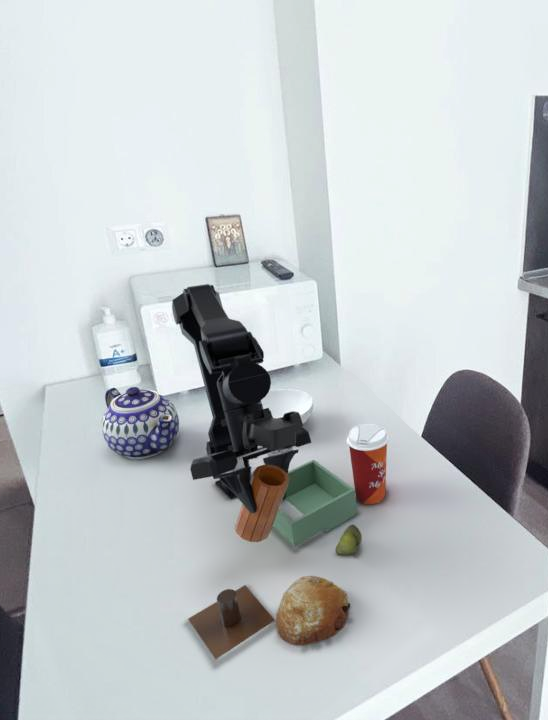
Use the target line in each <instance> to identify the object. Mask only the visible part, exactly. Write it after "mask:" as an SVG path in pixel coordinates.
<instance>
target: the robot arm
mask: <svg viewBox="0 0 548 720" xmlns="http://www.w3.org/2000/svg"><path fill="white" fill-rule="evenodd" d="M171 301H172V303H171V308H172V309H171V311H172V316H173V319H174V323H175V325H179V329H180V333H181V334H182V336H183V337H185V338H186V339H187V340H188V341H189V342H190V344H192V345H193V348H194V351H195V354H196V358H197V363H198V366H199V371H200V374H201V378H202V381H203V385H204V389H205V393H206V396H207V400H208V404H209V408H210V412H211V415H212V420H211V423H210V426H209V429H208V432H207V435H208V439H209V441H207V442H206V447H205V450H206V455H205V456H202V457H198V458H195V459H193V460H192V462H191V465H190V473H191V478H192V480H193V481H196V480H200V479H206V478H212V479H213V480H217V479H218V480H217V481H215V482H214V484H215V486H216V487H217V488H218V489H219V490H220V491H221V492H222V493H223V495H225V496H226V497H227V498H228V499H232V498H235V497H236V498H237V499H238V500H239V502H241V504H243V505H244V506H245V507H246V508H247V509H248V511H249V512H250V513H255V512H256V511H257V510H256V503H255V499H254V495H253V491H252V487H251V484H250V480H251V477H252V475H253V474H252V466H251V465H250V460H253V459H257V458H258V457H260V456H261V457H262V456H263V455H266V454H267V456H266V457H263V458H262V461H263V463H264V465H265V464H267V465H275V466H278V467H280V468H282V469H283V470H284V471H285V472H286V473H287V474H288V472H289V470H290V469H289V468H290V463H291V462H292V460H293V459H294V456H295V455H296V454H298V453H299V448H300V447H303V446H306V445H308V444H311V443H312V440H311V436H310V433H309V431H308V430H307V429H306V428H305V427H304V426H303V425H304V424H303V423H302V420H301V417H300V414H299V412H295V411H292V412H288V413H285V414H284V416H283V418H282V417H281V418H273V417H272V414H271V411H270V410H269V408H266V409H263V405H262V403H261V400H262V399H263V398H264V397H265V396H266V395H267V394H268V392H269V391H271V386H272V379H271V375H270V373H269V372H268V371H267V369H266V368H264V367H263V365H261V364H263V363H264V358H265V354H264V349H262V347H261V345H260V343H259V341H258V340H257V338H256V337H254V336H253V333H252V332H251V331H248V330H247V327H246V326H245V325H244V324H243V323H242V322H241V321H239V320H237V319H232V318H230V317H229V315H228V314H227V313H226V311H225V308H224V307H223V303H222V300H221V296H220V292H218V291H216V288H215V287H214V284H209V283H206V284H199V285H192V286H187V287H186V288H183V290H182V293H181V294H179V295H178V296H175V298H173V299H172V300H171ZM258 403H259V404H258ZM293 447H296V448H298V449H293ZM284 500H286V492H285V495H284V497H283V500H282V501H284Z"/></svg>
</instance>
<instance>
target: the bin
mask: <svg viewBox="0 0 548 720" xmlns="http://www.w3.org/2000/svg"><path fill="white" fill-rule="evenodd" d="M288 475H289V480H290V481H289V484H288V487H287V489H286V499H285V500H286V501H288V503H290V504H291V505H292V506H293V507H294V508H296V509H297V510H298V511H299V512H300V514H302V515H301V516H298V517H297V518H296V519H294V520H293V519H291V518H290V517H289V516H288V515H286V514H285V513H284V511H282V510H281V509H280V508H279V511H278V513H277V516H276V519H275V521H274V524H273V527H272V528H274V529H275V530H276V531H277V532H278V533H279V534H280V535H281V536H282V537H284V539H286V540H287V541H288V542H289V544H291V545H292V546H293V547H296V546H298V545H299V544H301V543H302V542H304V541H306V540H309V539H310V538H311V537H313V536H315V535H317V534H318V533H320V532H321V531H322V532H323V533H324V534H326V533H327V532H329V531H331V530H332V529H335V528H337V527H338V526H339V525H341V524H343V523H344V522H346V521H348V520H349V519H351V518H353V517H355V516H356V515H357V513H358V511H357V497H356V492H355V487H352V486H351V485H349V484H348V483H347V482H345V481H344V480H342V479H341V478H340V477H338V476H337V475H336V474H334V473H333V472H331V471H330V470H329V469H327V468H326V467H325V466H323V465H322V464H320V462H318V461H316V460H315V459H312V460H309V461H308V462H306V463H304V464H301V465H299V466H297V467H294V468H293V469H291V470H288Z"/></svg>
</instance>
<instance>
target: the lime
mask: <svg viewBox="0 0 548 720" xmlns="http://www.w3.org/2000/svg"><path fill="white" fill-rule="evenodd" d="M362 536H363V535H362V533H361V531H360V528H358V526H357V525H355V524H353V523H352V524H350V525H349V526H347V527H346V529H345V530H344V532H343V533H342V535H341V537H340V539H339V541H338V543H337V545H336V548H335V552H336V554H339V555H341V556H350V555H352V554H356V552H357V551H358V550H359V548H360V546H361V544H362V538H363V537H362Z"/></svg>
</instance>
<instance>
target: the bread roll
mask: <svg viewBox="0 0 548 720" xmlns="http://www.w3.org/2000/svg"><path fill="white" fill-rule="evenodd" d="M350 607H351V603H350V602H348V592H347V591H346V590H344V589H342V588H341V587H339V586H337V585H336V584H335V583H334V581H332V580H331V581H330V580H328V579H326V578H325V577H324V578H323V577H321V576H317V575H304V576H302V577H299V578H297V579H296V580H295V581H293V583H291V585H290V586H288V588H287V589H286V590H285V592H283V593H282V597H281V599H280V603H279V606H278V611H277V613H276V618H275V625H276V630H277V634H278V635H279V637H280V638H281V639H282V640H283V641H284V642H285V643H288V644H290V645H293V646H305V645H310V644H313V643H315V642H317V643H320V642H321V641H324V640H326V639H329V638H331V637H334V636H335V635H337V634H339V632H340V631H341V630H342V629H343V628H344V627H345V625H346V622H347V620H348V617H349V610H350Z"/></svg>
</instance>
